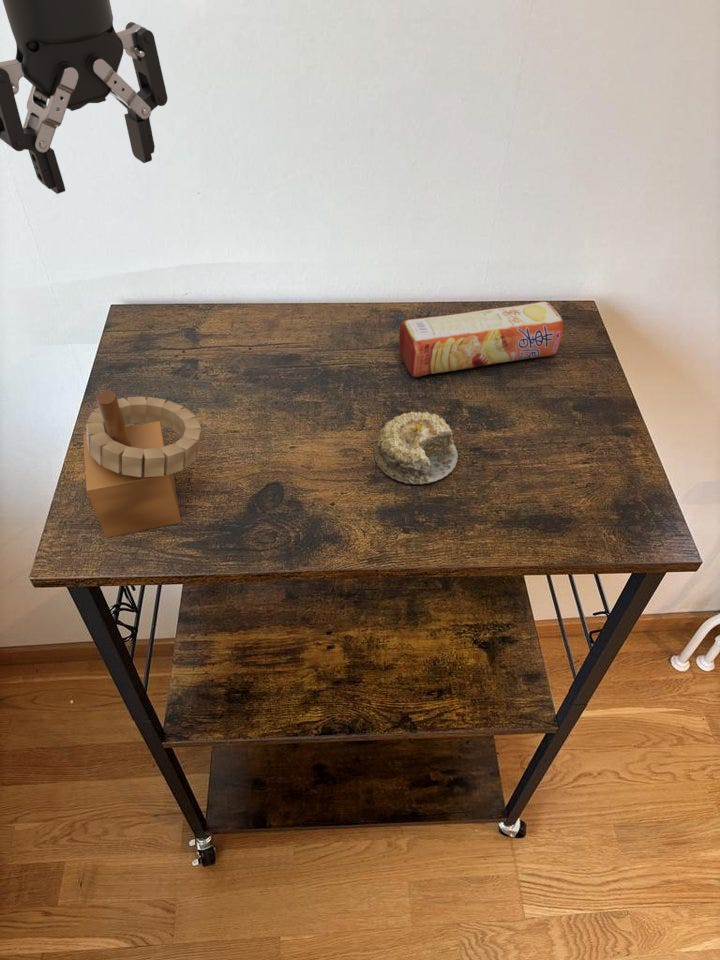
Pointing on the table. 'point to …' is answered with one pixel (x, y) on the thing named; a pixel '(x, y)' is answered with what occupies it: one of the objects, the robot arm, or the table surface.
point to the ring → (146, 459)
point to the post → (129, 479)
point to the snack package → (479, 338)
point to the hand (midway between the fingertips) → (101, 173)
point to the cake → (416, 448)
